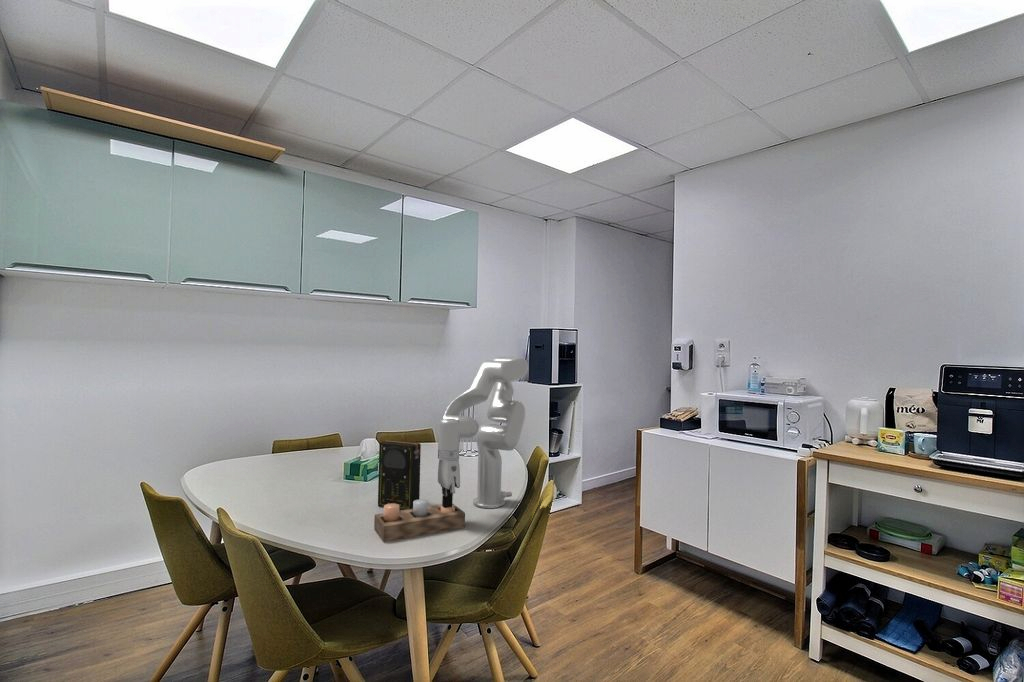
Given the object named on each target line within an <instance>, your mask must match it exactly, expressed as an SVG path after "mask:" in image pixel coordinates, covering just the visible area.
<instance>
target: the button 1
mask: <svg viewBox="0 0 1024 682" xmlns="http://www.w3.org/2000/svg"><path fill="white" fill-rule="evenodd" d="M399 511H400V510H399V504H395V503H392V504H386V505H384V507H383V513H384V519H383V521H384V523H386V522H393V521H399Z"/></svg>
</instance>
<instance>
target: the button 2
mask: <svg viewBox="0 0 1024 682" xmlns="http://www.w3.org/2000/svg"><path fill="white" fill-rule="evenodd" d="M455 506H456V505H455V504H454V505H452V507H448V508H444V507H443V506H441V512H442V513H448V512H454V511H455Z"/></svg>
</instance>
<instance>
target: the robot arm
mask: <svg viewBox="0 0 1024 682" xmlns="http://www.w3.org/2000/svg"><path fill="white" fill-rule="evenodd" d="M528 371H529V364H528V362H527V360H526V358H524V357H521V356H495V357H492V358H490V360H484V361H481V363H480V364H479V365H478V368H477V369H476V372H475V374H474V375H473V377H472V379H471V382H470V384H469V386H468V388H467V390H465V391H463V392H462V393H461V394H460V395H458V396H457V397H456V398H454V399H453V400H452V401H451V402H450V403H449V404H448V405H447V408H446V409H445V412H444V414H443V416H442V419H440V421H439V422H438V441H437V442H438V443H437V445H438V446H437V447H438V449H437V460H438V464H437V466H438V467H437V468H438V469H437V482H438V485H440V487H441V494H442V497H441V498H442V500H441V504H442V506H443V507H444V508H448V507H452V503H453V498H454V494H456V488H457V489H460V487H461V469H460V468H461V467H460V460H459V459H460V450H461V449H460V446H461V441H460V440H461V439H469V438H473V437H474V436H475V441H476V446H477V485H476V487H477V488H476V489H477V492H476V495H477V496H476V497H475V498H474V499H473V501H472V503H473V505H474V506H476V507H478V508H483V509H495V508H496V509H497V508H500V507H503V506H504V505H505V502H506V500H505V498H509V497H512V496H513V495H512V493H513V492H512V491H506V490H503V491H502V468H503V467H502V466H503V463H502V462H503V461H502V460H503V459H502V455H501V452H500V451H506V452H511V451H513V450H515V449H516V447H517V446H518V444H519V440H520V437H521V433H522V430H523V426H524V422H525V418H526V408H525V405H524V404H523V403H522V402H521V401H519V400H514V399H513V396H514V386H513V384H512V382H514V381H517V380H521V379H522V378H524V377H525V376H526V375H527V373H528ZM492 390H493V391H492ZM491 392H492V393H491ZM490 394H491V397H490V400H489V403H488V407H487V409H486V410H487V411H486V417H487V419H488V420H489V421H491V422H493V423H483V424H481V425H480V426H479V422H478V421H477V419H476V418H473V417H471V416H463V415H461V414H462V413H463V412H464V411H466V410H468V409H469V408H472V407H475V406H477V405H480V404H482V403H485V402H486V401H488V399H489V396H490ZM497 423H499V424H497ZM503 424H506V425H503Z"/></svg>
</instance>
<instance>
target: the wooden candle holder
mask: <svg viewBox="0 0 1024 682" xmlns="http://www.w3.org/2000/svg"><path fill="white" fill-rule="evenodd" d="M452 505H455V504H454V503H453V502H452ZM441 506H442V503H441V504H436V505H428V516H423V517H417V518H414V517H413V509H408V510H399V521H393V522H386V523H384V521H383V519H384V512H383V513H377V514H374V521H373V522H374V527H373V530H374V531H375V532H376V535H378V537H379V538H380V540H381V541H382V542H383V543H388V542H393V541H398V540H403V539H409V538H415V537H420V536H425V535H431V534H435V533H436V534H437V533H442V532H448V531H452V530H458V529H463V528H466V512H465V511H463V510H462V509H461V508H460V507H458V506H457V505H455V511H454V512H448V513H442V512H441Z"/></svg>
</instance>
